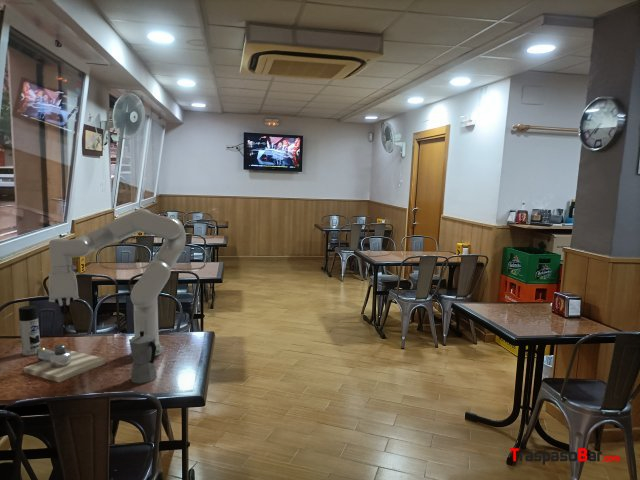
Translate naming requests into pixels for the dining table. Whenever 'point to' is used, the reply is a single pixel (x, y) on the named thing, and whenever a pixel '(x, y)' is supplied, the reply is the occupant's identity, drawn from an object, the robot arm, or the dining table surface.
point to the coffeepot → (143, 358)
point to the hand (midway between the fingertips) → (65, 314)
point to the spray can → (29, 330)
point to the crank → (55, 355)
